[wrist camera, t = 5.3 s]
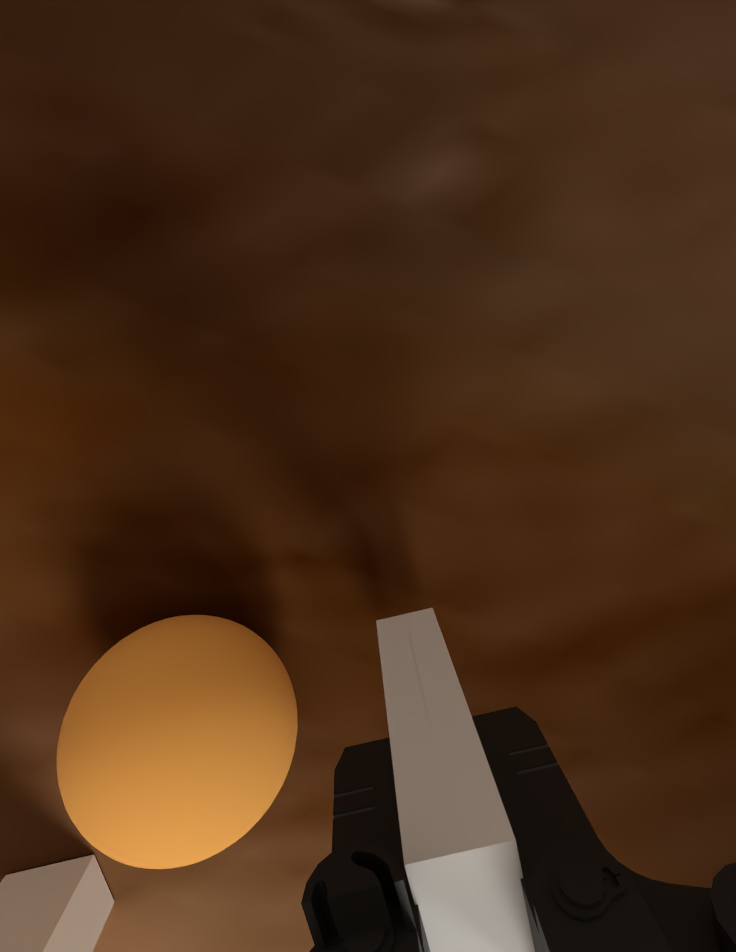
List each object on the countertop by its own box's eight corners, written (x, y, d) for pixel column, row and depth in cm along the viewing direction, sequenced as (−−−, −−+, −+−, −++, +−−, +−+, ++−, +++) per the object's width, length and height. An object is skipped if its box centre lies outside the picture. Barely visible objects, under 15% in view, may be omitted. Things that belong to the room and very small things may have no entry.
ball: (-34, 750, 9) (70, 610, 14) (63, 981, 10) (126, 773, 15) (280, 659, 10) (267, 561, 15) (332, 878, 11) (303, 717, 16)
